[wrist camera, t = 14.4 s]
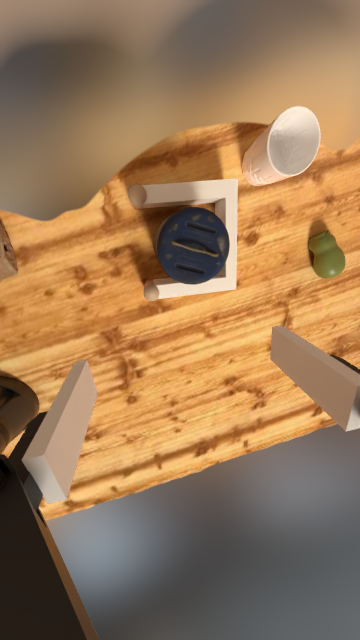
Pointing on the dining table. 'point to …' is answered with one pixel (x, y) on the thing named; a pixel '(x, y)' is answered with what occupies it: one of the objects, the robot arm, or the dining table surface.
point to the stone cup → (6, 256)
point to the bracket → (191, 194)
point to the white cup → (283, 147)
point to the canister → (192, 245)
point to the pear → (326, 255)
